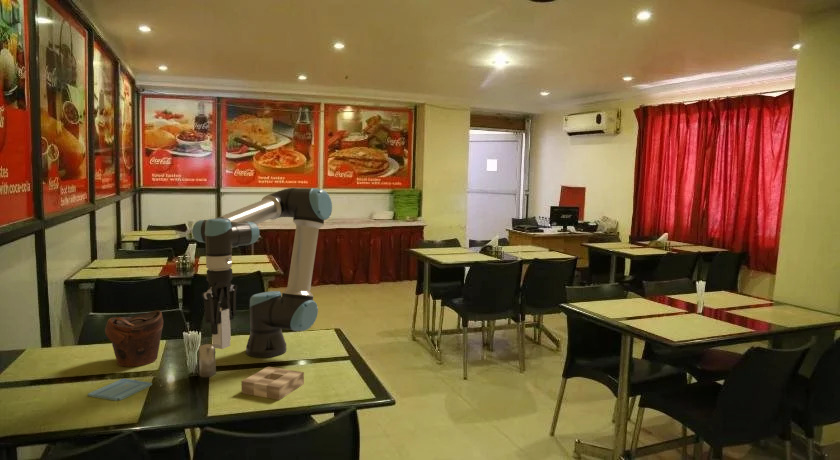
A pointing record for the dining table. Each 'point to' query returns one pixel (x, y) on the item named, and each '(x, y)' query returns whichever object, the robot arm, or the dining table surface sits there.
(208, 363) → the round bit
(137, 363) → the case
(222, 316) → the square bit
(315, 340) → the dining table surface
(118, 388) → the blue flat panel
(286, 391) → the socket block
